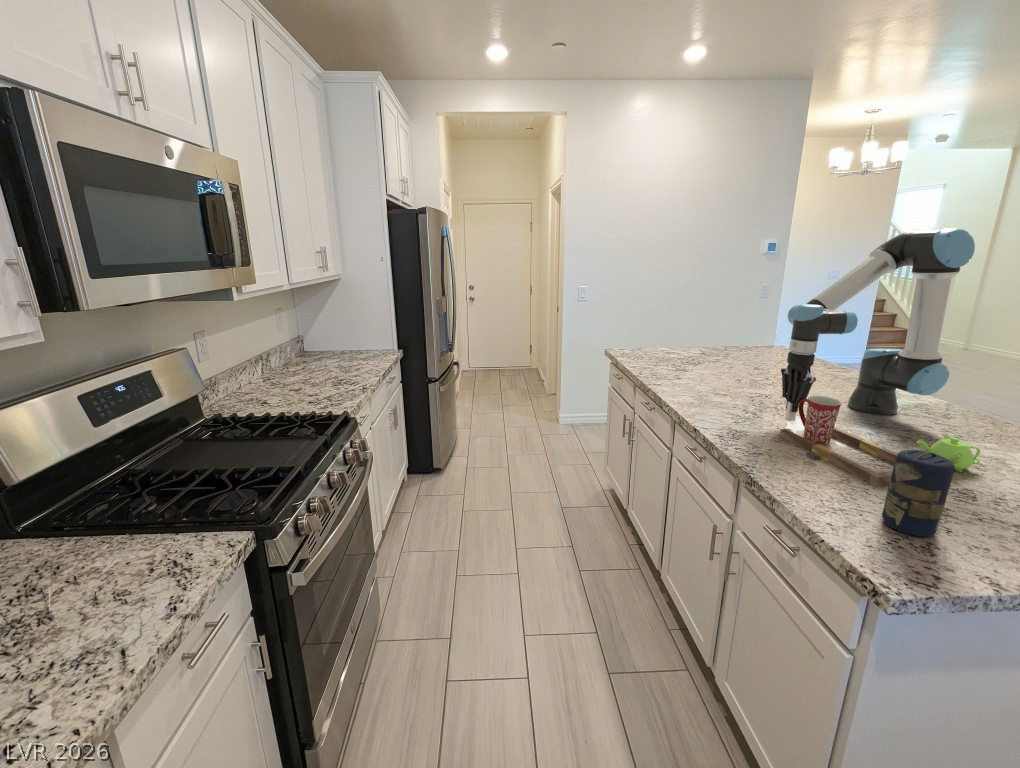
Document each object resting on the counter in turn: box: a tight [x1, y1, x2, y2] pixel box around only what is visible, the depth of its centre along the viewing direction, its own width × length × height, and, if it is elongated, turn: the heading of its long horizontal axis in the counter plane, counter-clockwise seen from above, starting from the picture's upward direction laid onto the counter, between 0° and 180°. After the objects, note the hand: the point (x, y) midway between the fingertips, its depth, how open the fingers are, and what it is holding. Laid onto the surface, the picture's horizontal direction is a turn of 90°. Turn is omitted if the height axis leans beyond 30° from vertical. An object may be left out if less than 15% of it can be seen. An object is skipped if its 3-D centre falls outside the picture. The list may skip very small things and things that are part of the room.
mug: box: [798, 395, 843, 445], centre depth 151 cm, size 13×9×14 cm
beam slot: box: [779, 426, 899, 487], centre depth 140 cm, size 25×34×2 cm
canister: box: [882, 449, 955, 537], centre depth 102 cm, size 10×10×18 cm
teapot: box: [916, 435, 981, 473], centre depth 132 cm, size 11×12×8 cm
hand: (789, 420), depth 162 cm, fingers closed
